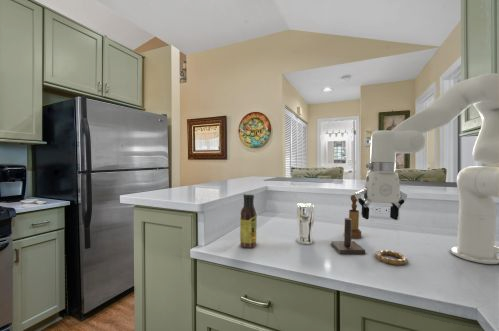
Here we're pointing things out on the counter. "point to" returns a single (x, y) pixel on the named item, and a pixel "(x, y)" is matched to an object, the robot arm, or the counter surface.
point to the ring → (391, 261)
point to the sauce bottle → (248, 222)
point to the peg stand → (347, 241)
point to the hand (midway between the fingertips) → (379, 218)
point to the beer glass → (305, 222)
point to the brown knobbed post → (354, 219)
